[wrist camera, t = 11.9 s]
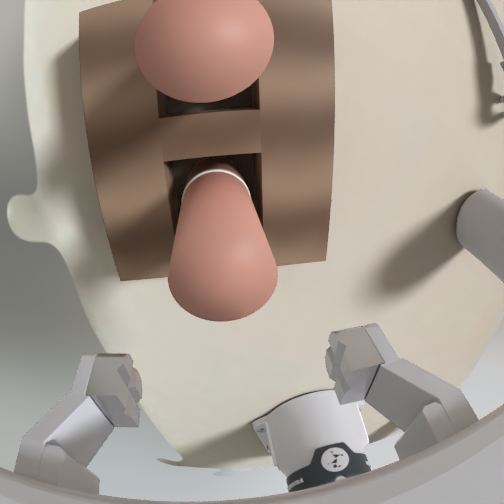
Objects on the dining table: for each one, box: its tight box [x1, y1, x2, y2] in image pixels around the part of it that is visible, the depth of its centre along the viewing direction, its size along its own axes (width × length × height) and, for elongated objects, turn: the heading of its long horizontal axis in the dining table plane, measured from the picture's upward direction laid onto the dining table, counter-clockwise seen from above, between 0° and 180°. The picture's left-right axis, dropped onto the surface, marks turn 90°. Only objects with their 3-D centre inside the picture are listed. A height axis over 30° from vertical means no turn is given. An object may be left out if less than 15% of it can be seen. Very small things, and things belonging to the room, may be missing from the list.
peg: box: [168, 156, 278, 321], centre depth 18 cm, size 4×4×13 cm
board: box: [79, 0, 335, 281], centre depth 19 cm, size 20×16×4 cm
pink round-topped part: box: [135, 0, 274, 103], centre depth 13 cm, size 4×4×13 cm
